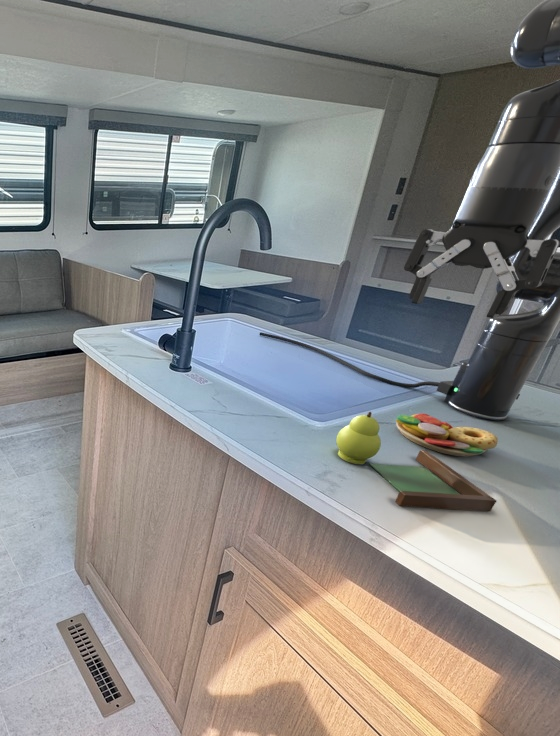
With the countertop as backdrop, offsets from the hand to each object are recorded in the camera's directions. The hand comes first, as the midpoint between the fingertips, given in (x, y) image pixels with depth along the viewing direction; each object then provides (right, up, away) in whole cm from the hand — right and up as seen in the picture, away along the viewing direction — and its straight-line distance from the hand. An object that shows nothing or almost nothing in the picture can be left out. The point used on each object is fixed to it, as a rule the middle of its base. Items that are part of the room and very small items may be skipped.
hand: (451, 309), depth 61 cm
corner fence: (-1, -26, +6) cm, 27 cm away
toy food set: (+14, -22, +18) cm, 32 cm away
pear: (-6, -23, +11) cm, 27 cm away
